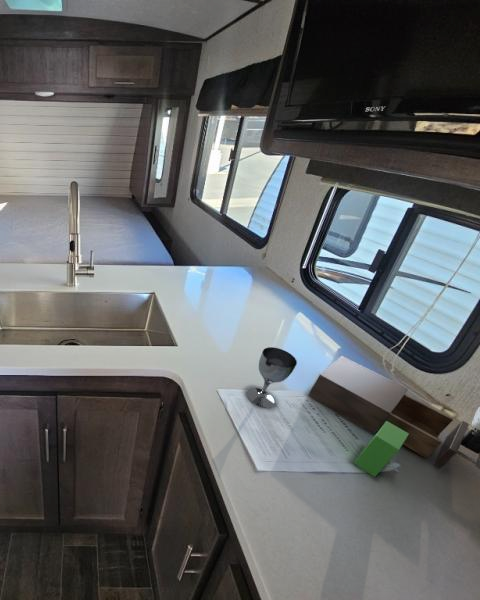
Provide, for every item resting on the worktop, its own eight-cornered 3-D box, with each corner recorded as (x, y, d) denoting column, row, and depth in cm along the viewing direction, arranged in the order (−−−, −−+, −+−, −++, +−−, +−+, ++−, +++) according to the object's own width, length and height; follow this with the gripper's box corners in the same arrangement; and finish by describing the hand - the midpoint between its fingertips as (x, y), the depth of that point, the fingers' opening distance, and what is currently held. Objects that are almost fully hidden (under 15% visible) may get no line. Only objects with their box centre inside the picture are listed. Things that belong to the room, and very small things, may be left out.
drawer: (481, 455, 76) (500, 439, 73) (469, 487, 69) (490, 470, 66) (381, 401, 90) (393, 385, 86) (363, 424, 83) (376, 407, 80)
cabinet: (392, 409, 89) (408, 388, 84) (373, 434, 81) (390, 413, 77) (329, 375, 99) (341, 355, 95) (307, 395, 92) (319, 374, 88)
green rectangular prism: (384, 460, 75) (409, 433, 70) (374, 477, 72) (399, 449, 66) (364, 447, 78) (386, 420, 73) (353, 463, 74) (375, 435, 69)
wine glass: (267, 413, 86) (288, 372, 78) (239, 394, 91) (256, 354, 83) (281, 400, 90) (302, 359, 82) (254, 383, 95) (271, 343, 88)
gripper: (508, 364, 69) (453, 420, 79) (498, 393, 62) (439, 451, 71) (564, 386, 64) (498, 443, 74) (561, 420, 57) (487, 479, 66)
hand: (469, 447), depth 72 cm, fingers closed
